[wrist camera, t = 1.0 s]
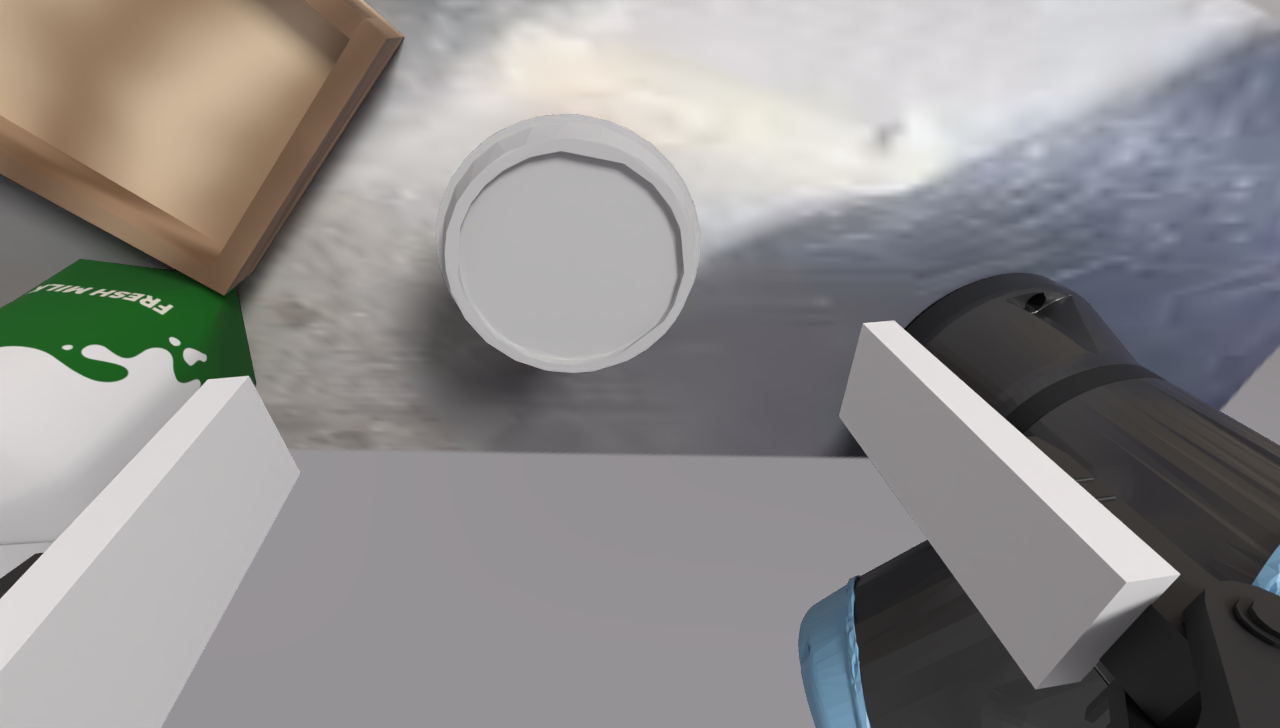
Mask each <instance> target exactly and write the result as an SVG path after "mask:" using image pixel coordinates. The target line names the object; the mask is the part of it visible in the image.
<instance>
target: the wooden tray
mask: <svg viewBox="0 0 1280 728" xmlns="http://www.w3.org/2000/svg"><path fill="white" fill-rule="evenodd" d="M403 39H404V36H403V35H402V34H401V33H400V32H399V31H397V30H396V29H395V28H394V27H393V26H392V25H391V24H390V23H388V22H387V21H386V20H385V19H384V18H383V17H382V16H381V15H379V14H378V13H377V12H376V11H375V10H374V9H373V8H372V7H370V6H369V5H368V4H367V3H366V2H365V1H364V0H0V174H2V175H4V176H5V177H7V178H9V179H11V180H13V181H15V182H16V183H18V184H20V185H22V186H24V187H26V188H27V189H29V190H31V191H33V192H35V193H37V194H38V195H40V196H42V197H44V198H46V199H48V200H49V201H51V202H53V203H55V204H57V205H59V206H60V207H62V208H64V209H66V210H68V211H70V212H71V213H73V214H75V215H77V216H79V217H81V218H82V219H84V220H86V221H88V222H90V223H92V224H94V225H95V226H97V227H99V228H101V229H103V230H105V231H106V232H108V233H110V234H112V235H114V236H116V237H117V238H119V239H121V240H123V241H125V242H127V243H128V244H130V245H132V246H134V247H136V248H138V249H139V250H141V251H143V252H145V253H147V254H149V255H150V256H152V257H154V258H156V259H158V260H160V261H161V262H163V263H165V264H167V265H169V266H171V267H172V268H174V269H176V270H178V271H180V272H182V273H183V274H185V275H187V276H189V277H191V278H193V279H194V280H196V281H198V282H200V283H202V284H204V285H205V286H207V287H209V288H211V289H213V290H215V291H217V292H218V293H220V294H222V295H226V294H227V293H228V292H229V291H230V290H232V289H233V288H234V287H235V286H236V285H238V284H239V283H240V282H241V281H242V280H244V279H245V278H246V277H247V276H248V275H250V274H251V273H252V272H253V271H254V269H255V268H256V266H257V265H258V263H259V262H260V260H261V259H262V257H263V256H264V254H265V252H266V251H267V249H268V248H269V246H270V245H271V243H272V242H273V240H274V238H275V237H276V235H277V234H278V232H279V231H280V229H281V228H282V226H283V225H284V223H285V221H286V220H287V218H288V217H289V215H290V214H291V212H292V211H293V209H294V207H295V206H296V204H297V203H298V201H299V200H300V198H301V197H302V195H303V194H304V192H305V190H306V189H307V187H308V186H309V184H310V183H311V181H312V180H313V178H314V176H315V175H316V173H317V172H318V170H319V169H320V167H321V166H322V164H323V163H324V161H325V159H326V158H327V156H328V155H329V153H330V152H331V150H332V149H333V147H334V145H335V144H336V142H337V141H338V139H339V138H340V136H341V135H342V133H343V132H344V130H345V128H346V127H347V125H348V124H349V122H350V121H351V119H352V118H353V116H354V114H355V113H356V111H357V110H358V108H359V107H360V105H361V104H362V102H363V101H364V99H365V97H366V96H367V94H368V93H369V91H370V90H371V88H372V87H373V85H374V83H375V82H376V80H377V79H378V77H379V76H380V74H381V73H382V71H383V70H384V68H385V66H386V65H387V63H388V62H389V60H390V59H391V57H392V56H393V54H394V53H395V51H396V49H397V48H398V46H399V45H400V43H401V42H402V40H403Z"/></svg>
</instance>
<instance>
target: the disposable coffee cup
mask: <svg viewBox="0 0 1280 728" xmlns="http://www.w3.org/2000/svg"><path fill="white" fill-rule="evenodd" d="M436 249H437V255H438V260H439V266H440V270H441V273H442V276H443V278H444V281H445V284H446V286H447V289H448V292H449V293H450V295H451V297H452V298H453V300H454V301H455V303H456V304H457V306H458V307H459V309H460V310H461V312H462V314H463V316H464V318H465V319H466V320H467V321H468V323H469V324H470V325H471V326H472V327H473V328H474V329H475V330H476V331H477V332H478V334H479V335H480V336H481V337H482V338H483V339H484V340H485V341H486V342H487V343H488V344H490V345H491V346H493V347H495V348H496V349H498V350H499V351H501V352H502V353H504V354H506V355H507V356H509V357H510V358H512V359H513V360H515V361H518V362H521V363H524V364H527V365H531V366H534V367H537V368H540V369H543V370H546V371H557V372H569V373H577V372H588V371H596V370H599V369H603V368H606V367H610V366H613V365H616V364H619V363H622V362H625V361H628V360H629V359H631V358H633V357H634V356H636V355H638V354H639V353H641V352H643V351H644V350H646V349H648V348H649V347H650V346H651V345H652V344H653V343H655V342H656V341H657V340H658V339H659V338H660V337H662V336H663V335H664V334H665V332H666V331H667V330H668V329H669V327H670V326H671V325H672V324H673V323H674V321H675V320H676V318H677V317H678V315H679V313H680V311H681V310H682V308H683V306H684V304H685V301H686V299H687V296H688V294H689V292H690V290H691V287H692V285H693V283H694V281H695V277H696V272H697V267H698V263H699V258H700V229H699V224H698V219H697V214H696V209H695V205H694V203H693V200H692V198H691V196H690V193H689V191H688V189H687V186H686V184H685V182H684V181H683V179H682V178H681V176H680V175H679V174H678V172H677V171H676V169H675V168H674V166H673V165H672V164H671V162H670V161H669V160H668V159H667V158H666V157H665V156H664V155H663V154H662V153H661V152H660V151H659V150H658V149H657V148H656V147H654V146H653V145H652V144H651V143H650V142H648V141H646V140H645V139H643V138H642V137H640V136H639V135H637V134H636V133H634V132H632V131H631V130H629V129H627V128H625V127H622V126H620V125H617V124H615V123H613V122H610V121H606V120H602V119H597V118H593V117H589V116H584V115H579V114H560V115H545V116H540V117H536V118H532V119H528V120H525V121H521V122H518V123H516V124H514V125H511V126H509V127H507V128H505V129H503V130H501V131H499V132H497V133H495V134H494V135H492V136H491V137H489V138H488V139H486V140H485V141H484V142H483V143H482V144H480V145H479V146H478V147H477V148H476V149H475V150H474V151H473V152H472V153H471V154H470V155H469V156H468V157H467V158H466V159H465V160H464V161H463V163H462V164H461V166H460V167H459V168H458V170H457V171H456V172H455V174H454V175H453V176H452V178H451V181H450V183H449V185H448V187H447V190H446V192H445V194H444V197H443V199H442V201H441V204H440V209H439V214H438V219H437V225H436Z"/></svg>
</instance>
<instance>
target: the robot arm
mask: <svg viewBox="0 0 1280 728" xmlns="http://www.w3.org/2000/svg"><path fill="white" fill-rule="evenodd" d="M839 417H840V419H841V420H842V421H843V423H844V424H845V426H846V427H847V428H848V430H849V431H850V433H851V434H852V435H853V437H854V438H855V439H856V441H857V442H858V444H859V445H860V446H861V448H862V449H863V451H864V452H865V453H866V455H867V456H868V457H869V459H870V460H871V462H872V463H873V464H874V466H875V467H876V469H877V470H878V471H879V473H880V474H881V476H882V477H883V478H884V480H885V481H886V482H887V484H888V485H889V487H890V488H891V489H892V491H893V492H894V494H895V495H896V496H897V498H898V499H899V501H900V502H901V503H902V505H903V506H904V507H905V509H906V510H907V511H908V513H909V514H910V516H911V517H912V519H913V520H914V521H915V523H916V524H917V525H918V527H919V528H920V530H921V531H922V532H923V534H924V535H925V536H926V538H927V539H928V540H926V541H924V542H922V543H920V544H919V545H917V546H915V547H913V548H911V549H910V550H908V551H906V552H904V553H902V554H900V555H898V556H897V557H895V558H893V559H891V560H889V561H888V562H886V563H884V564H882V565H880V566H878V567H876V568H875V569H873V570H871V571H869V572H867V573H866V574H864V575H862V576H859V575H858V576H855V577H853V578H851V579H849V581H848V583H847V585H845V586H844V587H842V588H841V589H839V590H837V591H836V592H834V593H833V594H831V595H829V596H828V597H826V598H825V599H823V600H821V601H820V602H818V603H817V604H815V605H814V606H812V607H811V608H810V609H809V610H808V612H807V613H806V614H805V617H804V618H803V620H802V623H801V627H800V633H799V642H798V644H799V645H798V647H799V659H800V665H801V674H802V679H803V684H804V688H805V693H806V697H807V701H808V704H809V708H810V711H811V715H812V717H813V720H814V724H815V727H816V728H1280V445H1278V444H1276V443H1275V442H1273V441H1271V440H1269V439H1268V438H1266V437H1264V436H1262V435H1260V434H1259V433H1257V432H1255V431H1254V430H1252V429H1250V428H1248V427H1247V426H1245V425H1243V424H1241V423H1240V422H1238V421H1236V420H1235V419H1233V418H1231V417H1229V416H1228V415H1225V414H1224V413H1222V412H1221V411H1219V410H1217V409H1215V408H1214V407H1212V406H1210V405H1208V404H1207V403H1205V402H1203V401H1201V400H1200V399H1198V398H1196V397H1195V396H1193V395H1191V394H1189V393H1188V392H1186V391H1184V390H1182V389H1181V388H1179V387H1177V386H1175V385H1174V384H1172V383H1170V382H1168V381H1166V380H1165V379H1163V378H1161V377H1160V376H1158V375H1156V374H1155V373H1153V372H1151V371H1150V370H1148V369H1146V368H1145V367H1143V366H1141V365H1140V364H1139V363H1137V361H1136V360H1135V359H1134V358H1133V356H1132V355H1131V354H1130V353H1129V352H1128V350H1127V349H1126V348H1125V347H1124V345H1123V344H1122V343H1121V342H1120V340H1119V339H1118V338H1117V337H1116V336H1115V334H1114V333H1113V332H1112V331H1111V329H1110V328H1109V327H1108V326H1107V325H1106V323H1105V322H1104V321H1103V320H1102V318H1101V317H1100V316H1099V315H1098V314H1097V312H1096V311H1095V310H1094V309H1093V307H1092V306H1091V305H1090V304H1089V303H1088V302H1087V301H1086V300H1085V299H1084V298H1082V297H1081V296H1080V295H1078V294H1077V293H1075V292H1073V291H1071V290H1070V289H1068V288H1066V287H1064V286H1062V285H1060V284H1058V283H1056V282H1054V281H1052V280H1051V279H1048V278H1046V277H1043V276H1040V275H1035V274H1028V273H1011V274H1003V275H997V276H993V277H989V278H986V279H982V280H979V281H977V282H974V283H972V284H969V285H967V286H965V287H963V288H960V289H958V290H957V291H955V292H953V293H951V294H949V295H948V296H946V297H944V298H943V299H941V300H940V301H938V302H937V303H936V304H934V305H933V306H932V307H930V308H929V309H928V310H926V311H925V312H924V313H923V314H922V315H921V316H919V317H918V318H917V319H916V320H915V321H914V322H913V323H912V324H911V325H910V326H909V327H908V328H907V329H906V331H905V330H904V329H903V328H902V327H901V326H900V325H899V324H897V323H896V322H895V321H883V322H872V323H863V325H862V329H861V333H860V336H859V340H858V344H857V348H856V352H855V356H854V360H853V364H852V367H851V371H850V375H849V379H848V383H847V387H846V391H845V395H844V399H843V402H842V406H841V410H840V414H839ZM299 475H300V471H299V470H298V468H297V466H296V464H295V462H294V460H293V458H292V456H291V455H290V453H289V451H288V449H287V447H286V445H285V443H284V441H283V439H282V437H281V435H280V434H279V432H278V430H277V428H276V426H275V424H274V422H273V420H272V418H271V417H270V415H269V413H268V411H267V409H266V407H265V405H264V403H263V401H262V399H261V398H260V396H259V394H258V392H257V390H256V388H255V386H254V384H253V382H252V381H251V379H250V377H249V376H242V377H230V378H218V379H208V380H207V381H206V382H205V383H204V384H203V385H202V386H201V387H200V388H199V389H198V390H197V392H196V393H195V394H194V395H193V396H192V397H191V398H190V399H189V400H188V401H187V402H186V403H185V404H184V405H183V406H182V407H181V408H180V409H179V411H178V412H177V413H176V414H175V415H174V416H173V417H172V418H171V419H170V420H169V421H168V422H167V423H166V424H165V425H164V426H163V427H162V429H161V430H160V431H159V432H158V433H157V434H156V435H155V436H154V437H153V438H152V439H151V440H150V441H149V442H148V443H147V444H146V445H145V446H144V448H143V449H142V450H141V451H140V452H139V453H138V454H137V455H136V456H135V457H134V458H133V459H132V460H131V461H130V462H129V463H128V464H127V466H126V467H125V468H124V469H123V470H122V471H121V472H120V473H119V474H118V475H117V476H116V477H115V478H114V479H113V480H112V481H111V482H110V483H109V485H108V486H107V487H106V488H105V489H104V490H103V491H102V492H101V493H100V494H99V495H98V496H97V497H96V498H95V499H94V500H93V501H92V503H91V504H90V505H89V506H88V507H87V508H86V509H85V510H84V511H83V512H82V513H81V514H80V515H79V516H78V517H77V518H76V519H75V520H74V522H73V523H72V524H71V525H70V526H69V527H68V528H67V529H66V530H65V531H64V532H63V533H62V534H61V535H60V536H59V537H58V538H57V540H56V541H55V542H54V543H53V544H52V545H51V546H50V547H49V548H48V549H47V550H46V551H45V552H44V553H36V554H34V555H33V556H31V557H30V558H28V559H27V560H26V561H24V562H23V563H21V564H20V565H19V566H17V567H16V568H14V569H13V570H12V571H10V572H9V573H7V574H6V575H5V576H3V577H2V578H0V728H161V727H162V725H163V723H164V721H165V720H166V718H167V716H168V714H169V712H170V710H171V709H172V707H173V705H174V703H175V701H176V700H177V698H178V696H179V694H180V692H181V690H182V689H183V687H184V685H185V683H186V681H187V680H188V678H189V676H190V674H191V672H192V670H193V668H194V667H195V665H196V663H197V661H198V659H199V657H200V655H201V654H202V652H203V650H204V648H205V647H206V645H207V643H208V641H209V639H210V637H211V636H212V634H213V632H214V630H215V628H216V627H217V625H218V623H219V621H220V619H221V618H222V615H223V614H224V612H225V610H226V608H227V607H228V605H229V603H230V601H231V599H232V597H233V596H234V594H235V592H236V590H237V588H238V587H239V585H240V583H241V581H242V579H243V577H244V576H245V574H246V572H247V570H248V568H249V566H250V564H251V563H252V561H253V559H254V557H255V556H256V554H257V552H258V550H259V548H260V546H261V545H262V543H263V541H264V539H265V537H266V535H267V534H268V532H269V530H270V528H271V526H272V525H273V523H274V521H275V519H276V517H277V515H278V514H279V512H280V510H281V508H282V506H283V504H284V503H285V501H286V499H287V497H288V495H289V494H290V492H291V490H292V488H293V486H294V484H295V483H296V481H297V479H298V477H299Z"/></svg>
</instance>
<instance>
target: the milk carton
mask: <svg viewBox="0 0 1280 728" xmlns="http://www.w3.org/2000/svg"><path fill="white" fill-rule="evenodd" d="M242 376H249V377H250V379H251V381H252V382H253V384H254V385H255V384H256V381H255V376H254V371H253V366H252V361H251V357H250V352H249V347H248V342H247V337H246V332H245V327H244V322H243V317H242V313H241V308H240V303H239V298H238V293H237V288H236V286H235V287H234V288H233V289H232V290H230V291H229V292H228V293H227V294H226V295H222V294H220V293H218V292H217V291H215V290H213V289H211V288H209V287H207V286H205V285H204V284H202V283H200V282H198V281H196V280H194V279H193V278H191V277H189V276H187V275H185V274H183V273H182V272H180V271H172V270H164V269H156V268H148V267H140V266H132V265H124V264H116V263H108V262H100V261H92V260H84V259H79V260H78V261H76V262H75V263H73V264H71V265H70V266H68V267H67V268H65V269H63V270H62V271H60V272H59V273H57V274H55V275H54V276H52V277H51V278H49V279H48V280H46V281H44V282H43V283H41V284H40V285H38V286H36V287H35V288H33V289H32V290H30V291H28V292H27V293H25V294H24V295H22V296H21V297H19V298H17V299H16V300H14V301H13V302H11V303H9V304H7V305H5V306H3V307H1V308H0V578H2V577H3V576H5V575H6V574H7V573H9V572H10V571H12V570H13V569H14V568H16V567H17V566H19V565H20V564H21V563H23V562H24V561H26V560H27V559H28V558H30V557H31V556H33V555H34V554H36V553H44V552H45V551H46V550H47V549H48V548H49V547H50V546H51V545H52V544H53V543H54V542H55V541H56V540H57V538H58V537H59V536H60V535H61V534H62V533H63V532H64V531H65V530H66V529H67V528H68V527H69V526H70V525H71V524H72V523H73V522H74V520H75V519H76V518H77V517H78V516H79V515H80V514H81V513H82V512H83V511H84V510H85V509H86V508H87V507H88V506H89V505H90V504H91V503H92V501H93V500H94V499H95V498H96V497H97V496H98V495H99V494H100V493H101V492H102V491H103V490H104V489H105V488H106V487H107V486H108V485H109V483H110V482H111V481H112V480H113V479H114V478H115V477H116V476H117V475H118V474H119V473H120V472H121V471H122V470H123V469H124V468H125V467H126V466H127V464H128V463H129V462H130V461H131V460H132V459H133V458H134V457H135V456H136V455H137V454H138V453H139V452H140V451H141V450H142V449H143V448H144V446H145V445H146V444H147V443H148V442H149V441H150V440H151V439H152V438H153V437H154V436H155V435H156V434H157V433H158V432H159V431H160V430H161V429H162V427H163V426H164V425H165V424H166V423H167V422H168V421H169V420H170V419H171V418H172V417H173V416H174V415H175V414H176V413H177V412H178V411H179V409H180V408H181V407H182V406H183V405H184V404H185V403H186V402H187V401H188V400H189V399H190V398H191V397H192V396H193V395H194V394H195V393H196V392H197V390H198V389H199V388H200V387H201V386H202V385H203V384H204V383H205V382H206V381H207V380H208V379H218V378H230V377H242Z"/></svg>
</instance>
